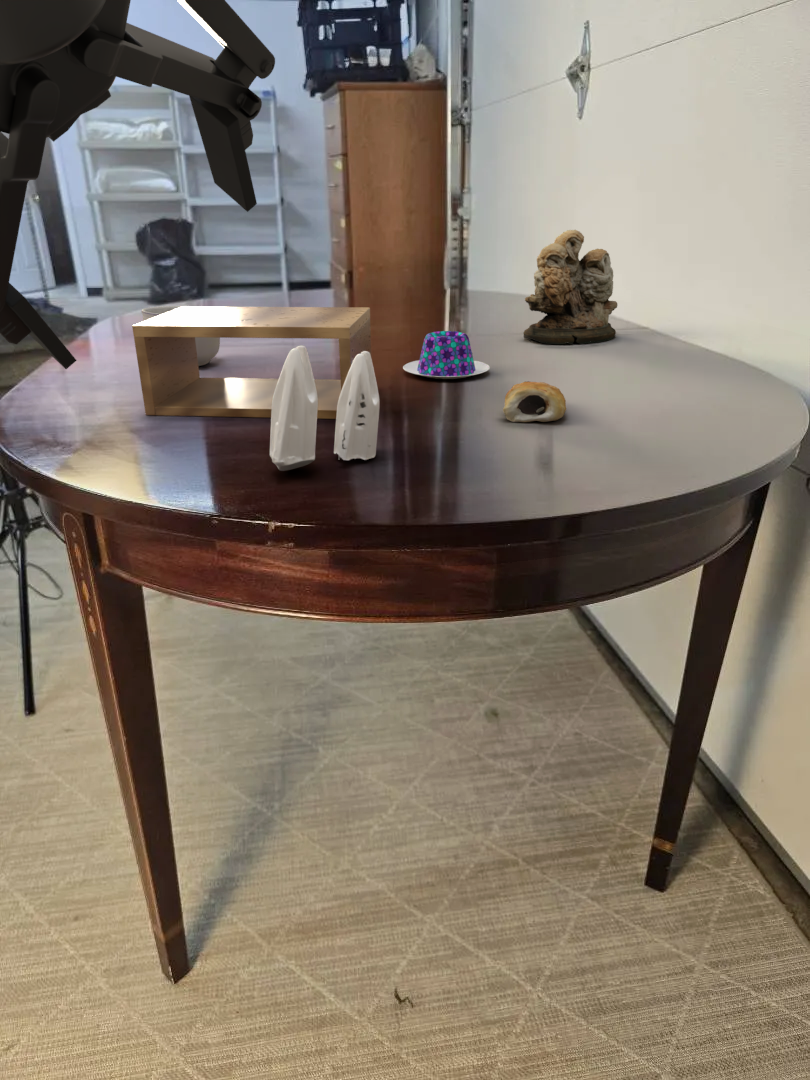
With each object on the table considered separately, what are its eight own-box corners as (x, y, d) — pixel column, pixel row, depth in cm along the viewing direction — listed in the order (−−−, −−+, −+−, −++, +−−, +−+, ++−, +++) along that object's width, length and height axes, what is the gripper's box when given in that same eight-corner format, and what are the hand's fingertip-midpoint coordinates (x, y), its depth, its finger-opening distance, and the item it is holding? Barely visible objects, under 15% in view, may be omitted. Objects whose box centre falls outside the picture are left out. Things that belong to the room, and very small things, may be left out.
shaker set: (277, 484, 67) (267, 356, 62) (256, 472, 70) (244, 348, 66) (390, 457, 73) (388, 339, 69) (366, 447, 77) (362, 333, 72)
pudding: (452, 360, 115) (452, 323, 112) (507, 374, 106) (509, 335, 104) (385, 371, 108) (385, 332, 106) (439, 386, 99) (439, 345, 97)
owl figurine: (548, 349, 122) (556, 233, 115) (503, 338, 131) (508, 230, 124) (632, 338, 130) (644, 229, 123) (584, 328, 139) (592, 226, 132)
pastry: (509, 401, 92) (511, 369, 91) (566, 404, 91) (569, 371, 89) (501, 422, 84) (503, 387, 82) (564, 426, 83) (567, 390, 81)
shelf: (145, 415, 88) (131, 325, 84) (192, 384, 102) (182, 306, 98) (352, 419, 86) (349, 327, 82) (372, 387, 99) (370, 307, 95)
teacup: (153, 358, 118) (145, 304, 115) (226, 355, 120) (220, 301, 116) (142, 378, 106) (133, 318, 102) (223, 374, 107) (217, 315, 104)
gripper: (-349, 204, 20) (19, 466, 40) (335, -287, 24) (351, 172, 45) (-522, 29, 21) (-75, 373, 41) (170, -411, 25) (260, 95, 46)
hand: (148, 269), depth 43 cm, fingers open, 13 cm apart
